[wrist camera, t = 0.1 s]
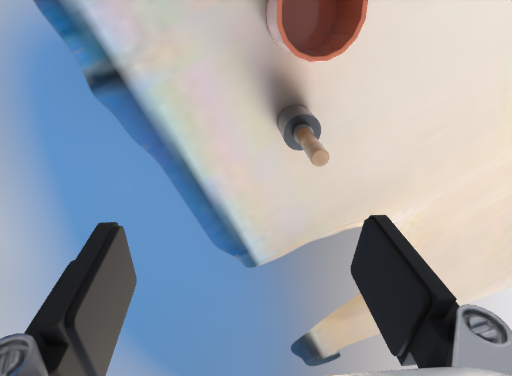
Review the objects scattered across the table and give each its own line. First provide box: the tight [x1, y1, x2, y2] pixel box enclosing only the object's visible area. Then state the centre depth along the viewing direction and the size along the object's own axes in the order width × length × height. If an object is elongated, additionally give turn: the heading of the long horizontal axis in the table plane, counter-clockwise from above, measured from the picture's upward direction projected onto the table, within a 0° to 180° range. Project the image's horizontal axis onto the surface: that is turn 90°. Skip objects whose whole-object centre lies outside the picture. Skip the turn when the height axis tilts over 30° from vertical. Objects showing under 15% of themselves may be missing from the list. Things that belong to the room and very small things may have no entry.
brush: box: [278, 104, 329, 167], centre depth 35 cm, size 5×5×13 cm
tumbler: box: [266, 0, 368, 62], centre depth 31 cm, size 9×9×8 cm
